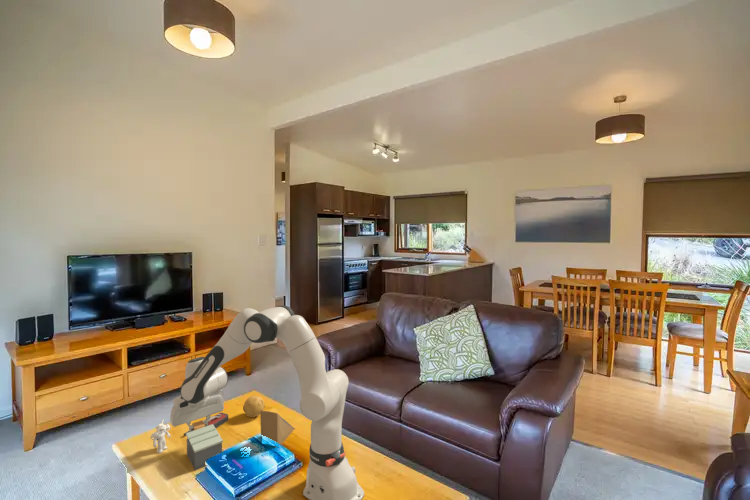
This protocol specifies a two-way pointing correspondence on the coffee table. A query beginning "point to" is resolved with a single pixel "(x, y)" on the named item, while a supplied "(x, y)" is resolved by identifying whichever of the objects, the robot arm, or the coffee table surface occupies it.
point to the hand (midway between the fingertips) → (198, 428)
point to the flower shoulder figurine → (160, 436)
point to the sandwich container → (274, 426)
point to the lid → (203, 436)
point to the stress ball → (253, 406)
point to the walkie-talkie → (216, 420)
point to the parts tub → (202, 454)
